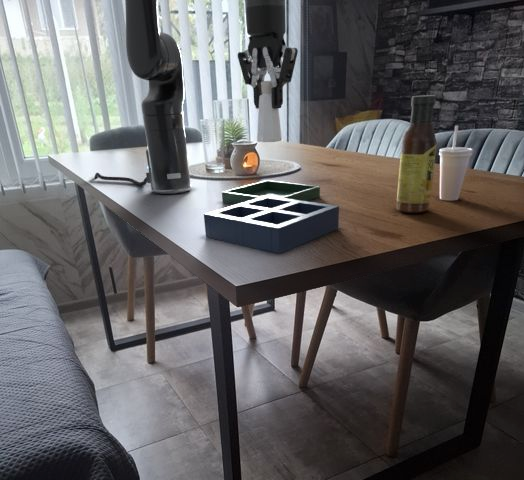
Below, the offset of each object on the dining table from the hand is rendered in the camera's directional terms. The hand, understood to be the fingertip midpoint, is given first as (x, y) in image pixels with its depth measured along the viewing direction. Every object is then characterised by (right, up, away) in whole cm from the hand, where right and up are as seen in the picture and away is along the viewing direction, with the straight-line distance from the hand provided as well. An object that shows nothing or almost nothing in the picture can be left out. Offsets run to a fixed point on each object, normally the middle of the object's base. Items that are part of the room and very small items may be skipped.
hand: (268, 107), depth 98 cm
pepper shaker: (0, -6, +3) cm, 6 cm away
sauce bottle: (+28, -22, -4) cm, 36 cm away
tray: (+1, -16, +9) cm, 18 cm away
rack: (+1, -29, -14) cm, 32 cm away
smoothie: (+38, -18, +3) cm, 42 cm away
